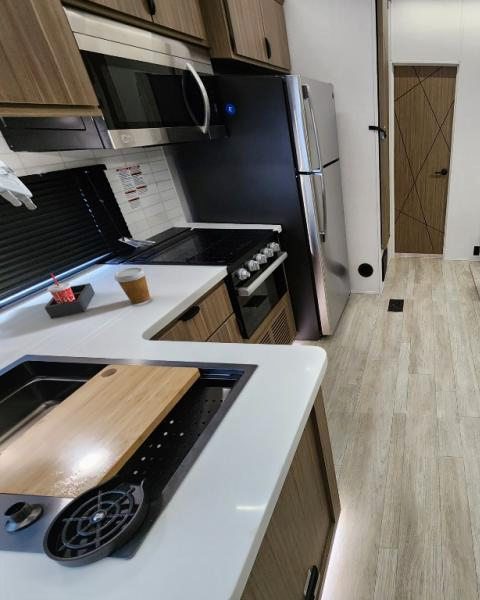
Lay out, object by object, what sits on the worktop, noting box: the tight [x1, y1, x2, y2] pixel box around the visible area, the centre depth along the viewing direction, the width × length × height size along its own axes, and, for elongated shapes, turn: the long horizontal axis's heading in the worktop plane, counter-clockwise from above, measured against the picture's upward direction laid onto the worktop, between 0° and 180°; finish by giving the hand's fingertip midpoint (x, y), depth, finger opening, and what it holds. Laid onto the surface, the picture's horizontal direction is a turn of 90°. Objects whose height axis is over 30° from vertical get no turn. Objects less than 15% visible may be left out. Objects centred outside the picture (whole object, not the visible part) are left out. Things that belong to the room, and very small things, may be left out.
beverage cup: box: [46, 273, 76, 304], centre depth 121 cm, size 6×6×14 cm
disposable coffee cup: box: [114, 267, 151, 304], centre depth 128 cm, size 10×10×12 cm
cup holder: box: [44, 282, 96, 320], centre depth 127 cm, size 10×18×5 cm, turn 30°
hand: (26, 207), depth 112 cm, fingers open, 8 cm apart
